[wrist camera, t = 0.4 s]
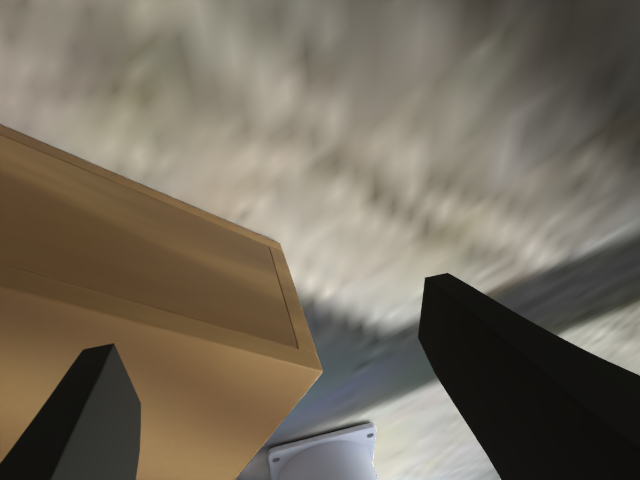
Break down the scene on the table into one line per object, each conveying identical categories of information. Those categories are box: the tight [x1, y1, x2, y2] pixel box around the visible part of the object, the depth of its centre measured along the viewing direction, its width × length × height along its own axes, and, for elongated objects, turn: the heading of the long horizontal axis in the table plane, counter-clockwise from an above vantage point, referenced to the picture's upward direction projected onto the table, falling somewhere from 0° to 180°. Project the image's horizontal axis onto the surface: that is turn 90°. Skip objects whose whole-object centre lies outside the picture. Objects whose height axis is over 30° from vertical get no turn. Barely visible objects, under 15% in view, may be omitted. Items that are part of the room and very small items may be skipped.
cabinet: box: [0, 125, 323, 480], centre depth 16 cm, size 16×14×8 cm
